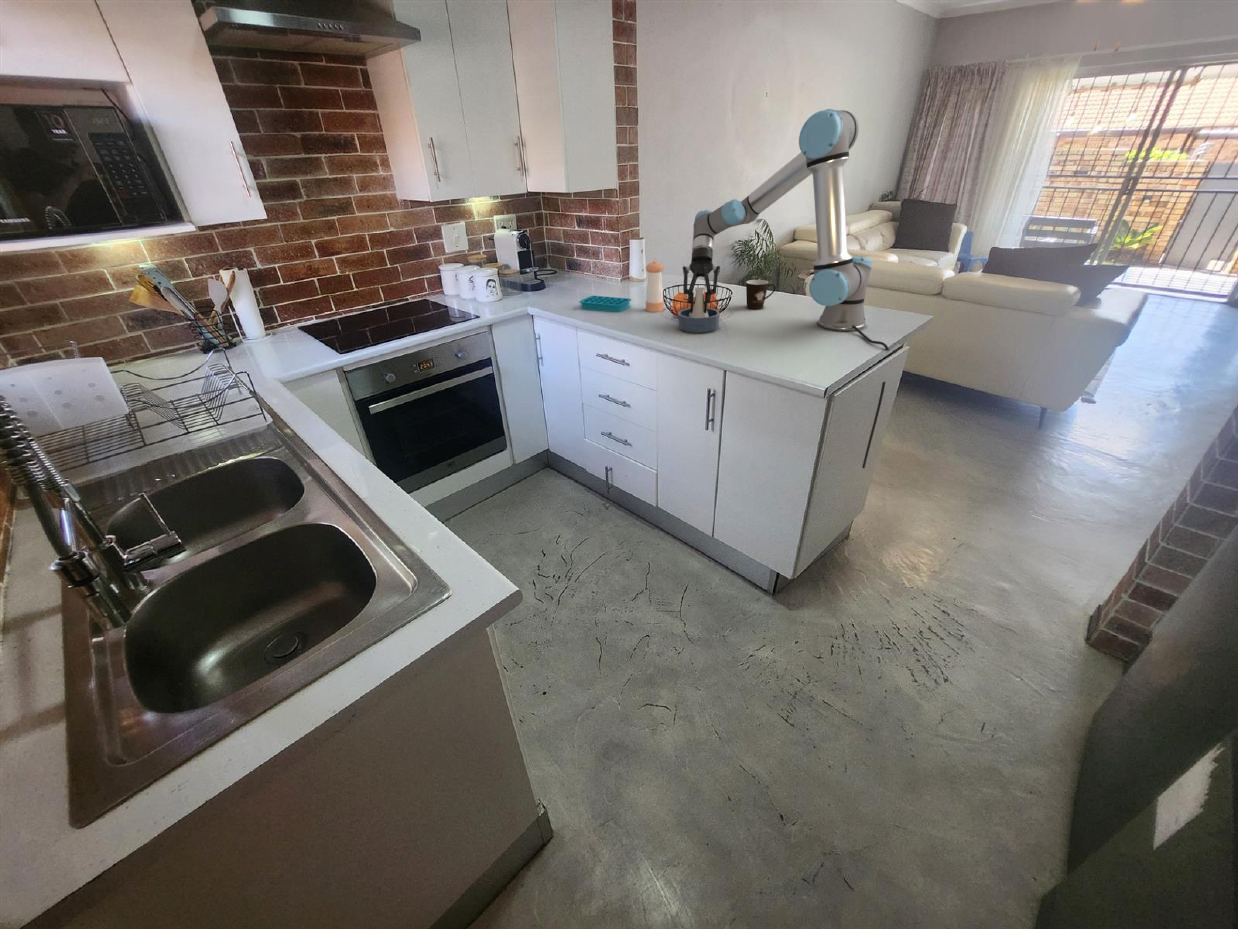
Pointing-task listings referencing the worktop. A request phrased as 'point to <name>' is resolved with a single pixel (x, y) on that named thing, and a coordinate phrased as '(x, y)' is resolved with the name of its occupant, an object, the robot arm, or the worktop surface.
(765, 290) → the coffee mug
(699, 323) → the bowl
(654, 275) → the pepper shaker
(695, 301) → the flask
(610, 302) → the ice cube tray
